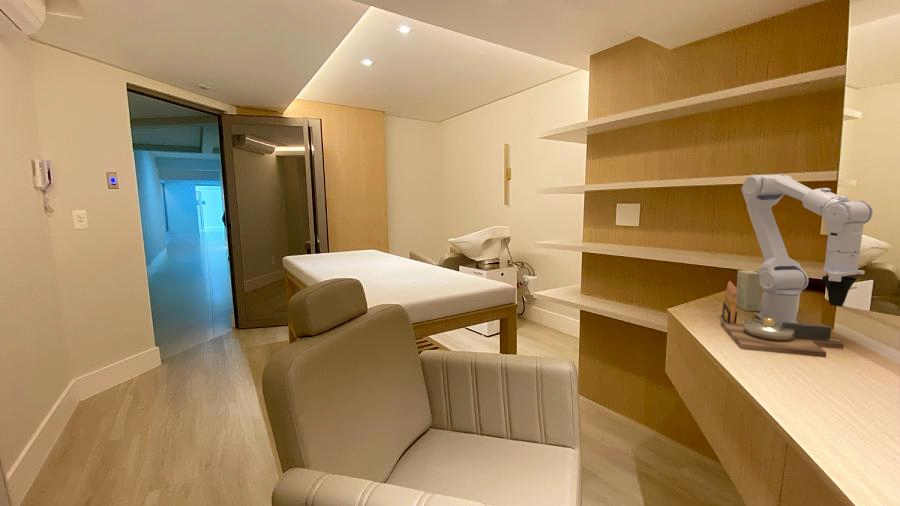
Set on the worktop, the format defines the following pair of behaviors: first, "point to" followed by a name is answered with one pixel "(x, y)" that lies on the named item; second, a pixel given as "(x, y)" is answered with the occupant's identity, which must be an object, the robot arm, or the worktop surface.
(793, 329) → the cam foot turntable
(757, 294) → the skincare box
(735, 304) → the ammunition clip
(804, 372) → the worktop surface
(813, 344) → the walnut stand
